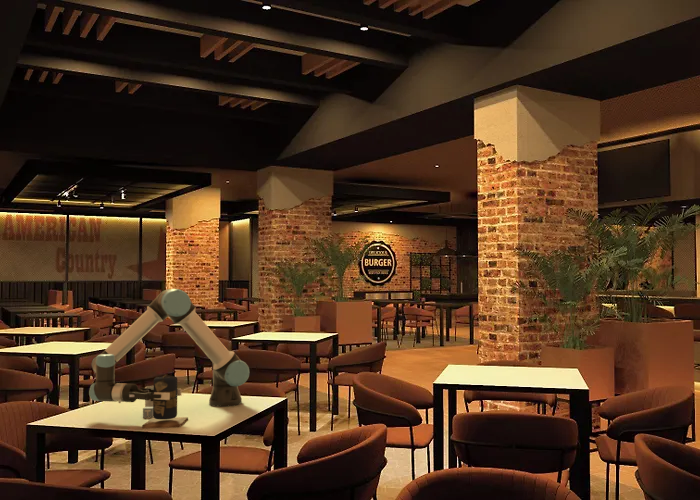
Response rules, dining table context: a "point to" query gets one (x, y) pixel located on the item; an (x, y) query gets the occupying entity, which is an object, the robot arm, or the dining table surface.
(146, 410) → the letter cube
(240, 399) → the robot arm
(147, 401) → the mug
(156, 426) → the walnut board
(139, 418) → the dining table surface
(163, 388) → the canister
